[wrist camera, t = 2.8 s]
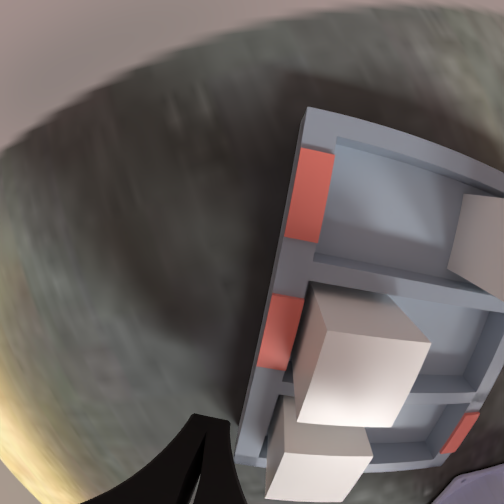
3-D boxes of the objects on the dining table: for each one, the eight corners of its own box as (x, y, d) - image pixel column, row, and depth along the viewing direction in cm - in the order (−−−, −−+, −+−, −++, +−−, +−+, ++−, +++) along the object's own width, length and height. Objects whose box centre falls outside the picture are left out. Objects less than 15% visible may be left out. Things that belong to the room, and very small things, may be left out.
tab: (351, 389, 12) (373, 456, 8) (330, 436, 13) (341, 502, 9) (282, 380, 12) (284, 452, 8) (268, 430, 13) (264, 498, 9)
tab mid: (386, 293, 11) (431, 342, 7) (362, 362, 12) (391, 427, 8) (309, 279, 11) (327, 330, 7) (291, 352, 12) (296, 422, 8)
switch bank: (518, 194, 11) (555, 199, 8) (427, 437, 14) (442, 468, 11) (300, 122, 11) (308, 104, 8) (238, 427, 14) (232, 466, 11)
